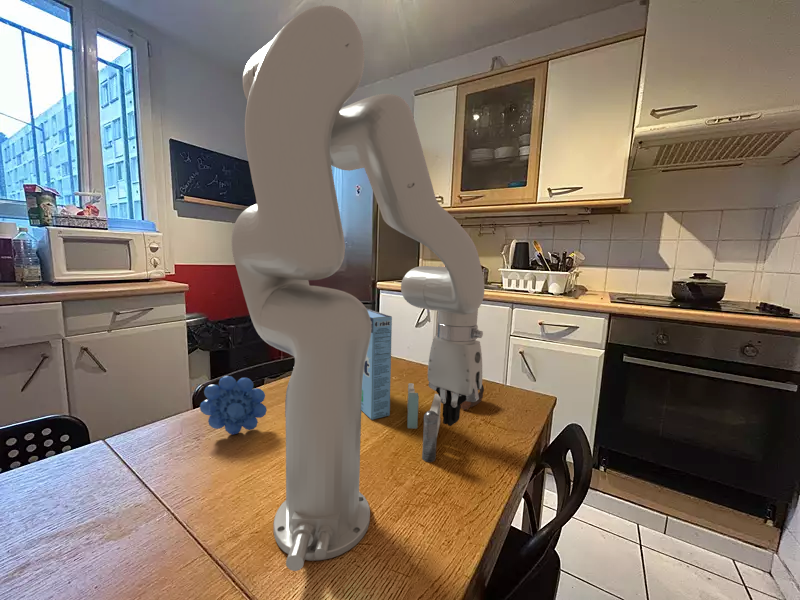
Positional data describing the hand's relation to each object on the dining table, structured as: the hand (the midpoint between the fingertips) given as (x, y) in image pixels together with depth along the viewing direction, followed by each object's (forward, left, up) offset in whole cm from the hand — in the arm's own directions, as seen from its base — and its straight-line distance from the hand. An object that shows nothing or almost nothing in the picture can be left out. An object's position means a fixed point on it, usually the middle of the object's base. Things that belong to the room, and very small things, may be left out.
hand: (450, 422), depth 68 cm
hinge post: (-7, +5, -4) cm, 9 cm away
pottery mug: (+18, -5, -4) cm, 19 cm away
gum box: (+16, +19, -4) cm, 25 cm away
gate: (0, +3, -3) cm, 5 cm away
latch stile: (+5, +7, -4) cm, 9 cm away
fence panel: (+10, +7, -4) cm, 13 cm away
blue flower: (-1, +42, -4) cm, 42 cm away
